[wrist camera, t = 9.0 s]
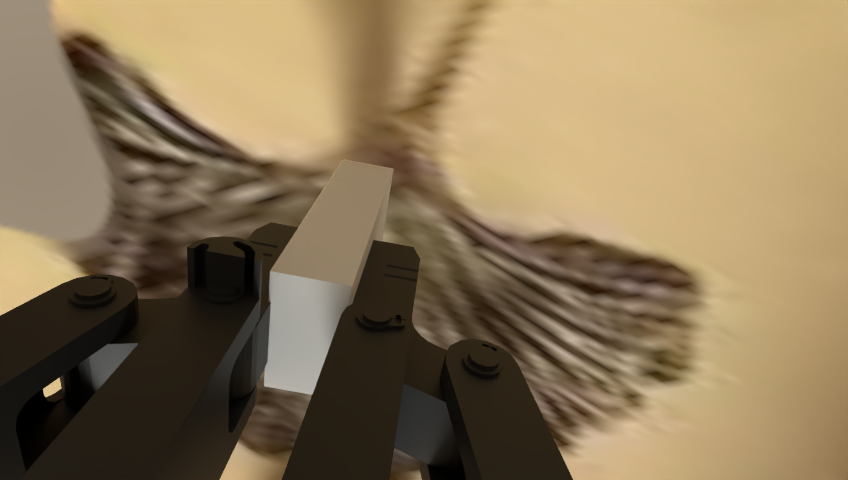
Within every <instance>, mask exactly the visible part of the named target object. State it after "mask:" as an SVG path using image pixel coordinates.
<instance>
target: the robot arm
mask: <svg viewBox="0 0 848 480" xmlns="http://www.w3.org/2000/svg"><path fill="white" fill-rule="evenodd" d="M392 175H393V169H392V168H387V167H382V166H376V165H371V164H366V163H361V162H355V161H350V160H345V159H342V161H341V162H340V164H339V165H338V167H337V169H336V170H335V172H334V173H333V175H332V176H331V178H330V179H329V181H328V182H327V184H326V185H325V187H324V189H323V190H322V192H321V193H320V195H319V196H318V198H317V199H316V201H315V202H314V204H313V206H312V207H311V209H310V210H309V212H308V213H307V215H306V216H305V218H304V219H303V221H302V223H301V224H300V226H299V227H293V226H288V225H282V224H277V223H269V224H267V225H265V226H262V227H260V228H258V229H256V230H255V231H254V232H253V233H252V235H251V236H250V237H249V238H248V239H247V240H244V239H241V238H236V237H225V236H223V237H211V238H206V239H203V240H199V241H196V242H195V243H193V244H191V245H190V246H188V247H187V258H188V287H187V288H186V290H185V291H184V292H183V293H182V294H181V295H180V296H179V298H170V299H138V296H137V289H136V288H135V286H134V284H133V283H132V282H130V281H128V280H127V279H125V278H122V277H117V276H112V275H90V276H85V277H80V278H76V279H73V280H71V281H68V282H65V283H63V284H61V285H59V286H57V287H55V288H53V289H51V290H49V291H47V292H45V293H43V294H41V295H39V296H37V297H36V298H34V299H32V300H30V301H28V302H26V303H24V304H22V305H20V306H18V307H16V308H14V309H12V310H10V311H9V312H7V313H5V314H3V315H1V316H0V480H219V479H220V477H221V475H222V473H223V471H224V469H225V467H226V465H227V462H228V460H229V458H230V456H231V454H232V452H233V450H234V448H235V446H236V444H237V441H238V439H239V437H240V435H241V433H242V431H243V429H244V427H245V425H246V423H247V421H248V418H249V416H250V414H251V412H252V410H253V408H254V406H255V402H256V396H257V382H258V380H259V378H260V376H261V374H262V372H263V370H264V368H265V377H264V386H266V387H272V388H278V389H283V390H289V391H294V392H300V393H306V394H311V395H312V397H311V400H310V403H309V406H308V408H307V411H306V414H305V417H304V419H303V422H302V425H301V428H300V431H299V433H298V436H297V439H296V442H295V444H294V447H293V450H292V453H291V456H290V458H289V461H288V464H287V467H286V469H285V472H284V475H283V478H282V480H389V478H390V472H391V465H392V458H393V451H394V448H396V449H398V450H400V451H402V452H404V453H406V454H408V455H410V456H412V457H414V458H416V459H418V460H420V472H421V477H422V480H573V478H572V476H571V474H570V472H569V470H568V468H567V466H566V464H565V462H564V460H563V458H562V455H561V453H560V451H559V449H558V447H557V445H556V443H555V441H554V439H553V437H552V435H551V433H550V430H549V428H548V426H547V424H546V422H545V420H544V418H543V416H542V414H541V412H540V410H539V407H538V405H537V403H536V401H535V399H534V397H533V395H532V393H531V391H530V389H529V387H528V385H527V382H526V380H525V378H524V376H523V374H522V372H521V370H520V368H519V366H518V364H517V362H516V361H515V360H514V358H513V357H512V356H511V355H510V354H509V353H508V352H506V351H505V350H504V349H502V348H501V347H499V346H497V345H494V344H492V343H489V342H487V341H481V340H474V339H471V340H461V341H459V342H457V343H455V344H453V345H451V346H450V347H449V349H448V350H445V349H443V348H440V347H438V346H436V345H434V344H432V343H430V342H428V341H427V340H426V339H424V338H423V337H422V336H420V334H419V333H418V332H417V331H416V330H415V328H414V326H413V324H412V312H413V305H414V298H415V291H416V284H417V277H418V270H419V263H420V258H419V256H418V254H417V253H416V251H415V249H414V248H413V247H409V246H404V245H399V244H393V243H388V242H382V239H383V232H384V226H385V220H386V213H387V207H388V201H389V194H390V188H391V182H392ZM59 377H60V381H61V387H62V389H60V390H59V391H57V392H56V393H55V394H53V395H50V396H48V397H46V398H45V396H44V393H43V388H45V387H46V386H48V385H49V384H50V383H52V382H53V381H55V380H56V379H58V378H59Z"/></svg>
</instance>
